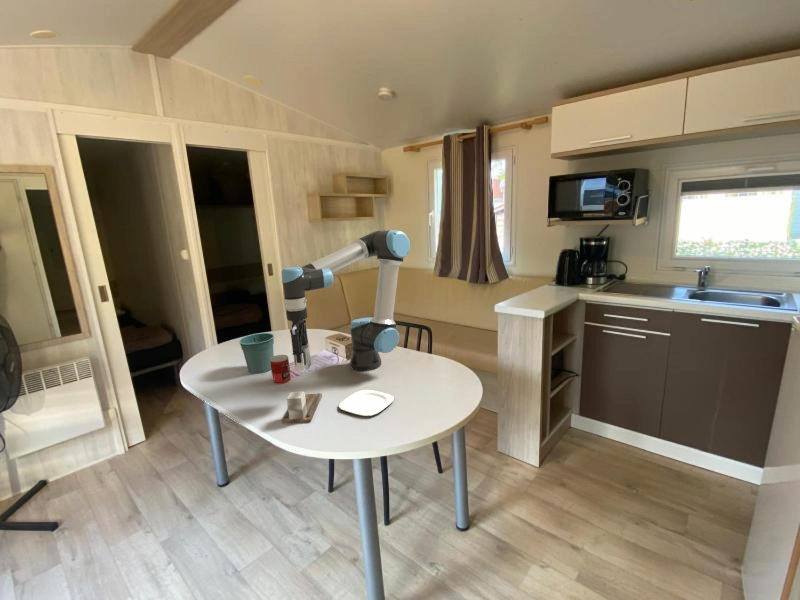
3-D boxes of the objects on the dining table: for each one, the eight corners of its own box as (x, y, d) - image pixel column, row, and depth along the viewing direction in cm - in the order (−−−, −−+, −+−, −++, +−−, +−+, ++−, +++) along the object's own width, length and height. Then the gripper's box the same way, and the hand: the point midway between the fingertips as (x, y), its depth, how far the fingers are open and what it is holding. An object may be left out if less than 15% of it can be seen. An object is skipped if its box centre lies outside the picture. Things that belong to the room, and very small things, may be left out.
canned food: (286, 384, 166) (282, 360, 164) (269, 383, 168) (266, 360, 166) (294, 377, 174) (291, 354, 171) (278, 376, 175) (275, 354, 173)
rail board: (322, 396, 153) (319, 375, 151) (310, 422, 133) (307, 398, 131) (297, 397, 153) (295, 376, 151) (282, 423, 134) (279, 399, 132)
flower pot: (264, 377, 175) (259, 344, 172) (236, 374, 181) (230, 342, 177) (285, 364, 191) (281, 333, 187) (258, 361, 196) (254, 332, 193)
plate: (371, 422, 132) (371, 417, 131) (333, 410, 141) (332, 406, 141) (399, 400, 147) (399, 396, 146) (362, 391, 156) (362, 387, 156)
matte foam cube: (298, 364, 149) (296, 345, 147) (311, 364, 149) (309, 345, 147) (294, 370, 143) (292, 350, 142) (307, 369, 143) (305, 349, 142)
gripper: (299, 314, 132) (306, 376, 137) (311, 302, 150) (318, 357, 155) (278, 315, 132) (286, 377, 137) (293, 303, 150) (299, 358, 155)
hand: (303, 366), depth 146 cm, fingers closed on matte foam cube, 6 cm apart
